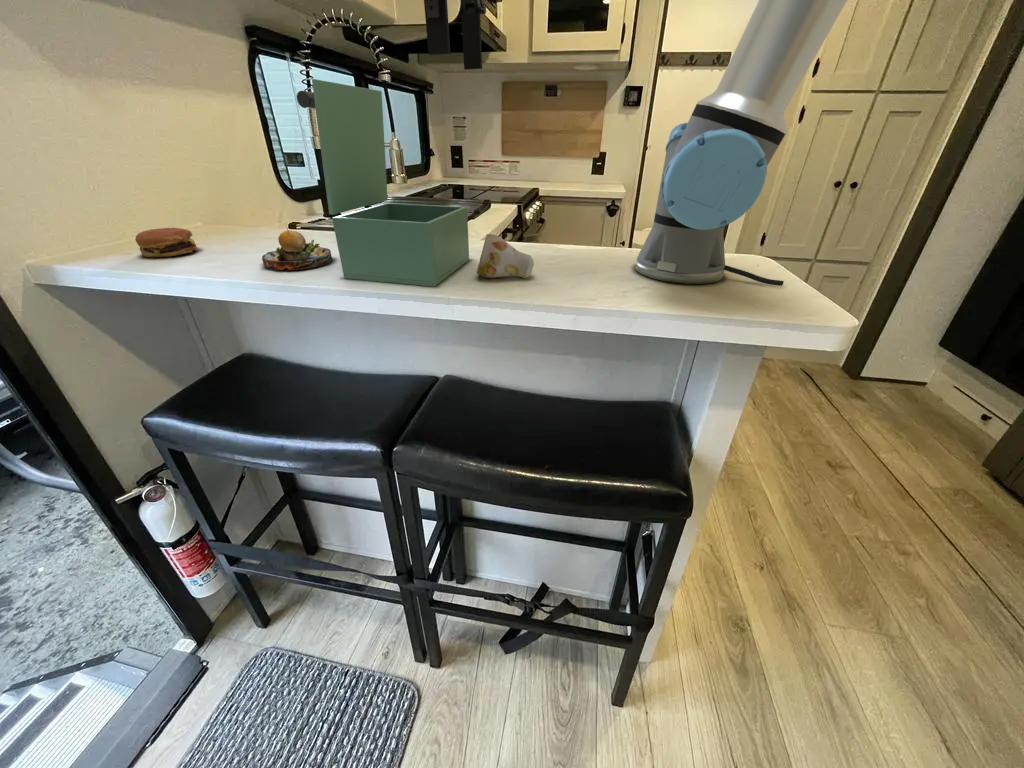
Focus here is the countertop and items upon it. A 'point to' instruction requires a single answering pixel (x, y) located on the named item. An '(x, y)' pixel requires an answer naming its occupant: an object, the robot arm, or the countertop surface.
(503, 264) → the mug
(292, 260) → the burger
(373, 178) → the cool box lid
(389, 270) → the cool box
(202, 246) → the countertop surface
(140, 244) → the burger
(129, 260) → the countertop surface
